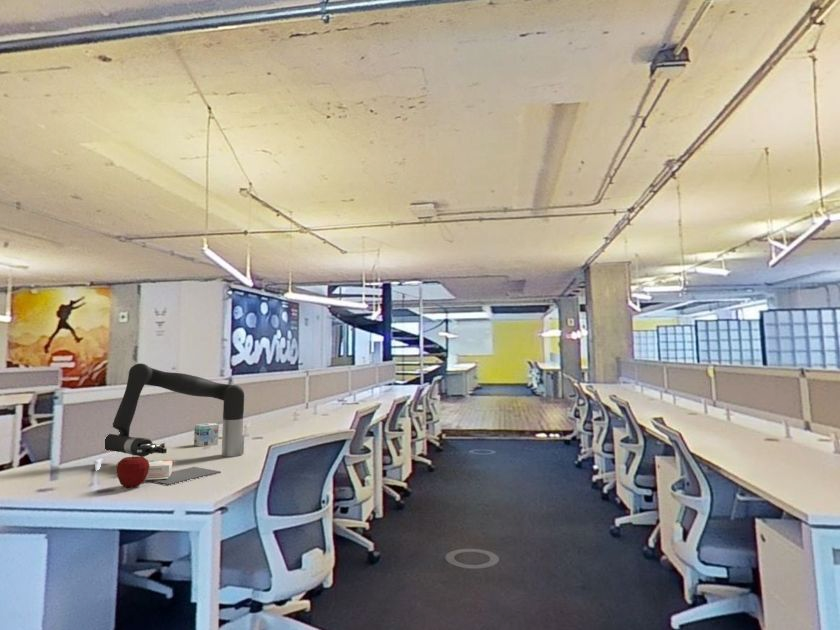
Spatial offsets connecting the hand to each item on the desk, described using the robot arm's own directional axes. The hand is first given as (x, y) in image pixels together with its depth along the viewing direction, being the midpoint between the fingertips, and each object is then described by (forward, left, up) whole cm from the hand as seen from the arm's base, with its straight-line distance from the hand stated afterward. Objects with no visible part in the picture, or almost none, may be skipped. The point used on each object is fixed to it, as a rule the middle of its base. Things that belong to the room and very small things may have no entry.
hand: (164, 450), depth 218 cm
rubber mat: (0, +11, -9) cm, 14 cm away
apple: (+20, +9, -9) cm, 24 cm away
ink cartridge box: (+1, 0, -6) cm, 6 cm away
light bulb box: (-52, -37, -9) cm, 64 cm away
